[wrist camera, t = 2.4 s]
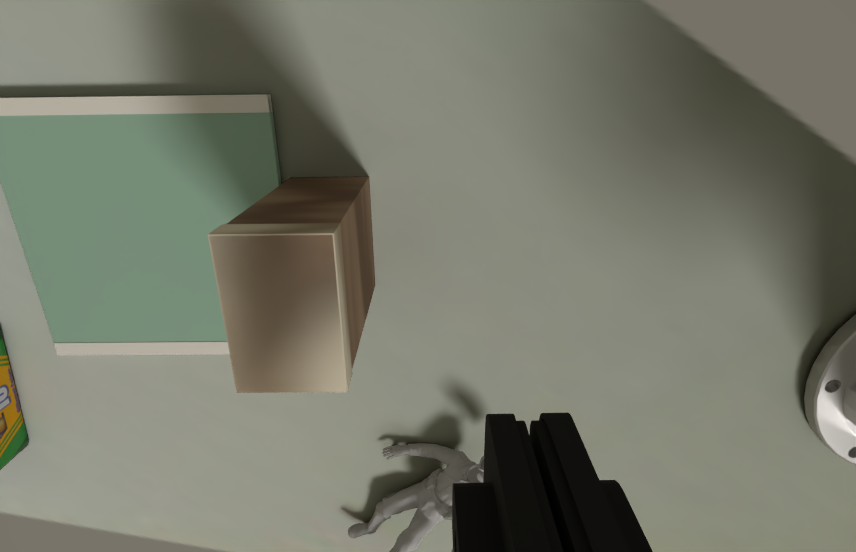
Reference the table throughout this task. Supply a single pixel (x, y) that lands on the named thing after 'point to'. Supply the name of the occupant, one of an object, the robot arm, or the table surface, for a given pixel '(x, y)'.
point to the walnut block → (297, 284)
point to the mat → (132, 211)
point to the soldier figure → (423, 494)
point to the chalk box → (9, 413)
